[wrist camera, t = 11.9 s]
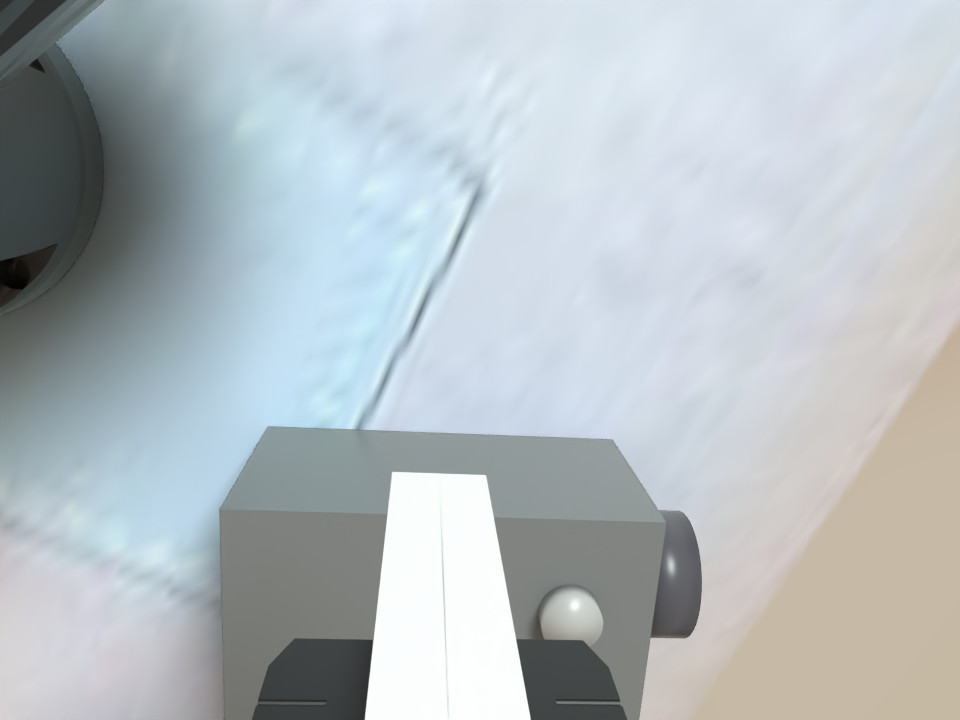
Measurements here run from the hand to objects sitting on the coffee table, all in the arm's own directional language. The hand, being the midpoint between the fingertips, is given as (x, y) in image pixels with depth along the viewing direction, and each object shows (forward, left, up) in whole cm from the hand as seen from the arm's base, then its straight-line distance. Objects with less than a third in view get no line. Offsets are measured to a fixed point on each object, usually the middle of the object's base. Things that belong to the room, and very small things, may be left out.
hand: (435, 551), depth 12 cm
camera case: (+2, -13, -24) cm, 28 cm away
